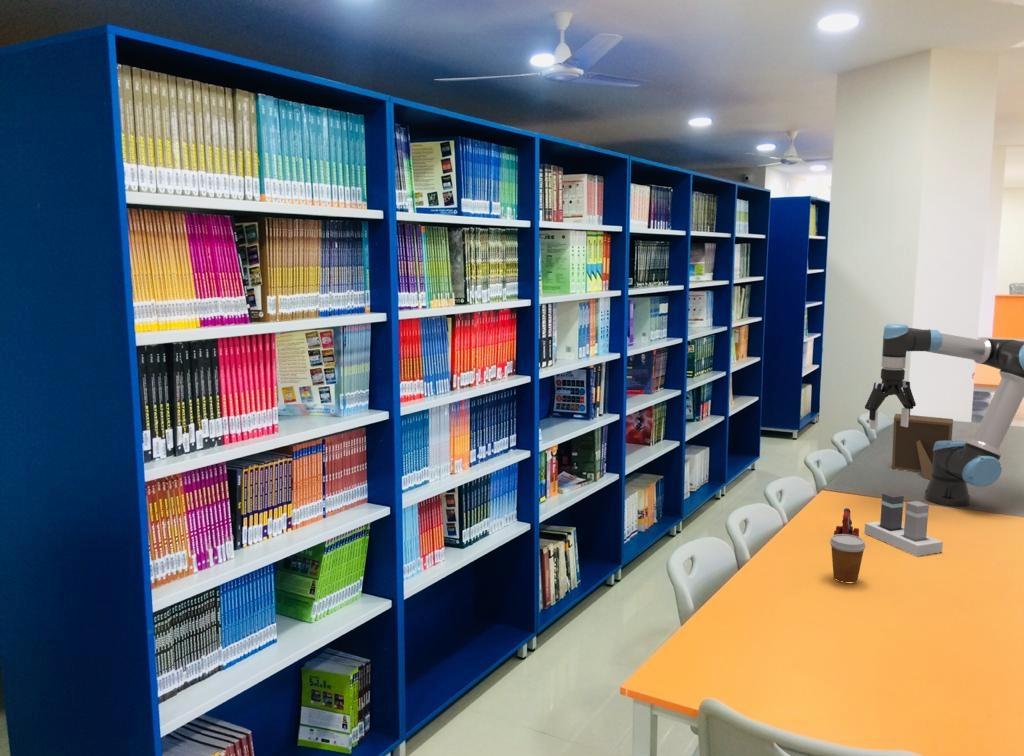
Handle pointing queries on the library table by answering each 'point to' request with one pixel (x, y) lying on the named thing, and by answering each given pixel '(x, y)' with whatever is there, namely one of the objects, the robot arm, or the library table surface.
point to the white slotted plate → (903, 540)
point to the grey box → (891, 511)
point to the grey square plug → (916, 521)
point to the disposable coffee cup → (846, 556)
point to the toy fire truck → (846, 525)
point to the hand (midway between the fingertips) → (888, 427)
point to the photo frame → (918, 442)
